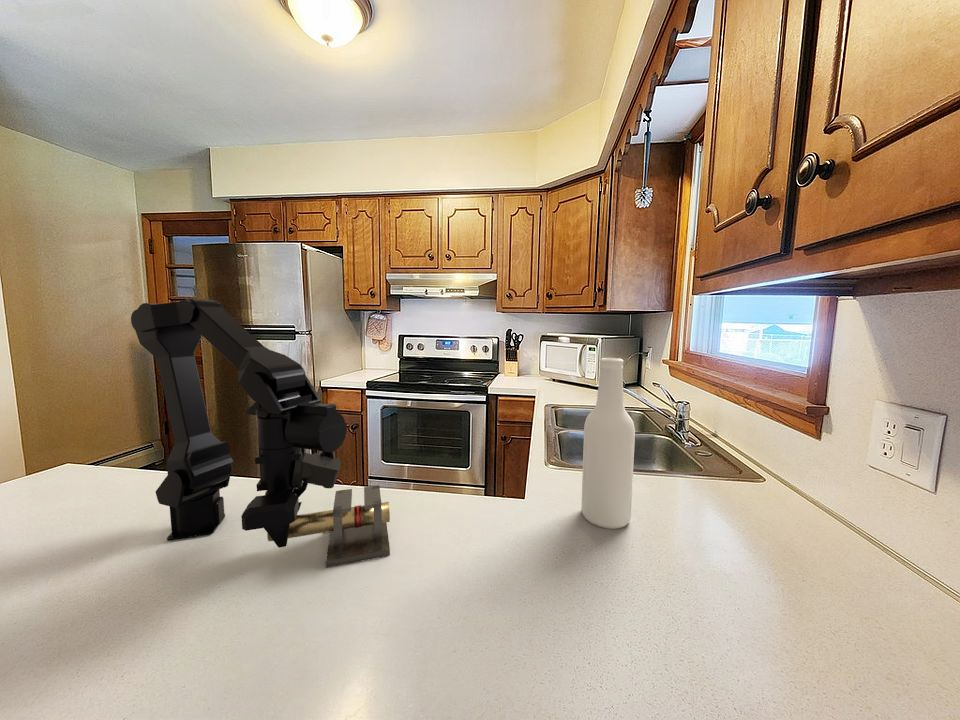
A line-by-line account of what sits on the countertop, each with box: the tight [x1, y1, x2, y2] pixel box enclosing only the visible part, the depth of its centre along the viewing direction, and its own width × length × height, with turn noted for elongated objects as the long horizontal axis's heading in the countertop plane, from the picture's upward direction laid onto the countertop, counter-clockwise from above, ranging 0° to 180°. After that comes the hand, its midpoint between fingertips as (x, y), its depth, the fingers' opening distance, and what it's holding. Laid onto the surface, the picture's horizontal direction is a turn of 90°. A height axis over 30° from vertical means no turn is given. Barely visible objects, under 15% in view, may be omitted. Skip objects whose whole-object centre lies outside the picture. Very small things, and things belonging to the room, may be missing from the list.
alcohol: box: [580, 357, 636, 530], centre depth 66 cm, size 9×9×30 cm
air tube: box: [266, 501, 391, 542], centre depth 58 cm, size 18×3×3 cm, turn 108°
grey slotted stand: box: [325, 484, 391, 569], centre depth 60 cm, size 9×12×7 cm
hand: (285, 539), depth 56 cm, fingers open, 3 cm apart
